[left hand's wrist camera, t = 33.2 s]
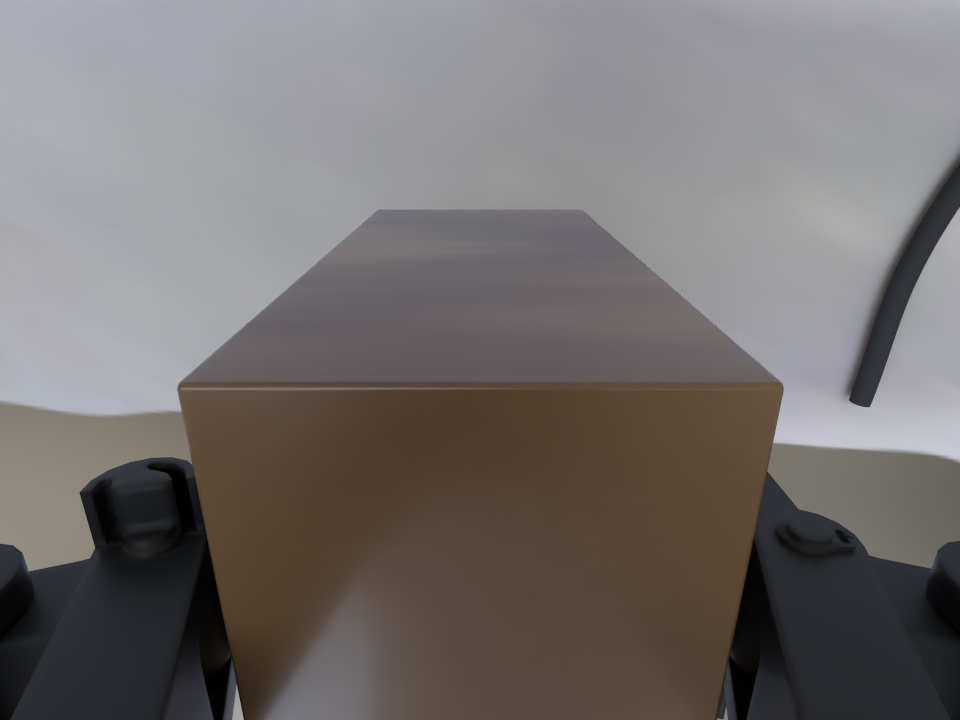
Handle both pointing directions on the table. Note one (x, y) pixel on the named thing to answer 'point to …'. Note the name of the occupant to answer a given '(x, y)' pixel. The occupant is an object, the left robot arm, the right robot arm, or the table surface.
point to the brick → (480, 479)
